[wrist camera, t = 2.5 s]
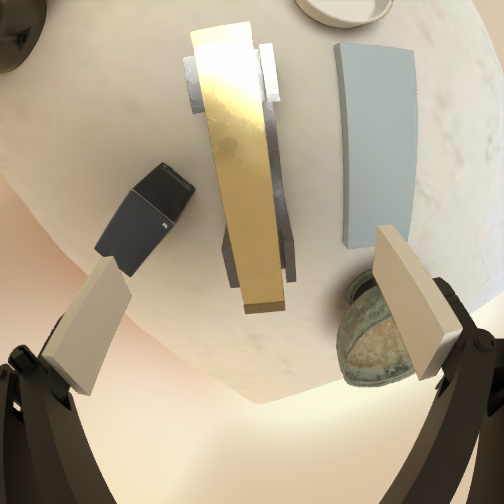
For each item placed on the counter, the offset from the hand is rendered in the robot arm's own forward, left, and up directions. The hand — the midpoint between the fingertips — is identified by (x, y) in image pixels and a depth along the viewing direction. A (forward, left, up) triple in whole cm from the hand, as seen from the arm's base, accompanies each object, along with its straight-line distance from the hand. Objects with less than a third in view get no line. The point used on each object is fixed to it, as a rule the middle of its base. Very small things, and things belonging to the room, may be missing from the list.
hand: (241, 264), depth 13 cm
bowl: (+19, -26, -25) cm, 41 cm away
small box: (-14, -5, -25) cm, 29 cm away
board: (+17, -1, -25) cm, 30 cm away
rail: (0, 0, -15) cm, 15 cm away
